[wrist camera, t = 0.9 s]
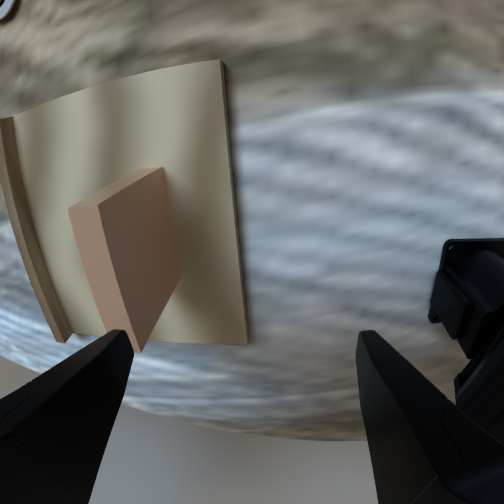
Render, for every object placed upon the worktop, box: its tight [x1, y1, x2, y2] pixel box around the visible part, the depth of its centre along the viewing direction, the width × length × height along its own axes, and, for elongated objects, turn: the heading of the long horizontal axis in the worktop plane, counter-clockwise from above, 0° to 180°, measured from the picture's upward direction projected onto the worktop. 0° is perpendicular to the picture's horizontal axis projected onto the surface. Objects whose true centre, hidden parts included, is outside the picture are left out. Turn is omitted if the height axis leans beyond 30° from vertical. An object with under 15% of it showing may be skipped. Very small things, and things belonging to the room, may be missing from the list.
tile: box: [68, 167, 181, 353], centre depth 15 cm, size 2×7×7 cm, turn 4°
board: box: [0, 59, 249, 345], centre depth 19 cm, size 16×18×2 cm
